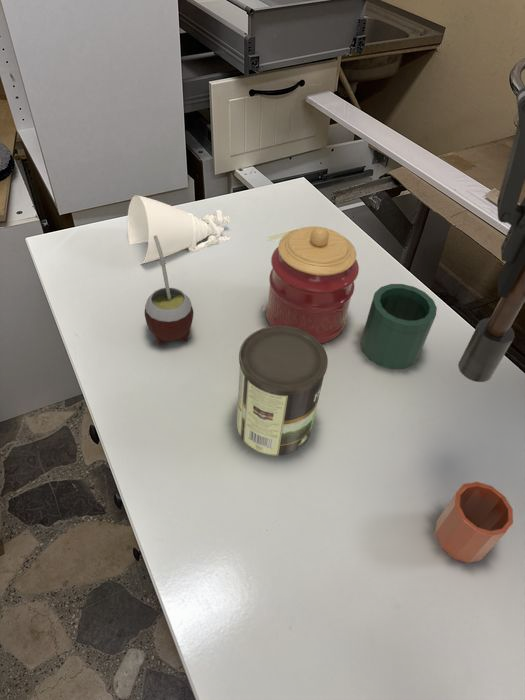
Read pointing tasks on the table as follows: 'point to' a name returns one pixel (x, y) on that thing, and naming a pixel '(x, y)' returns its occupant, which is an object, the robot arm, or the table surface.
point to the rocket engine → (171, 227)
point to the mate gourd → (168, 310)
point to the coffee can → (279, 388)
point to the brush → (493, 336)
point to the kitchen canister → (312, 282)
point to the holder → (483, 511)
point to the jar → (397, 325)
